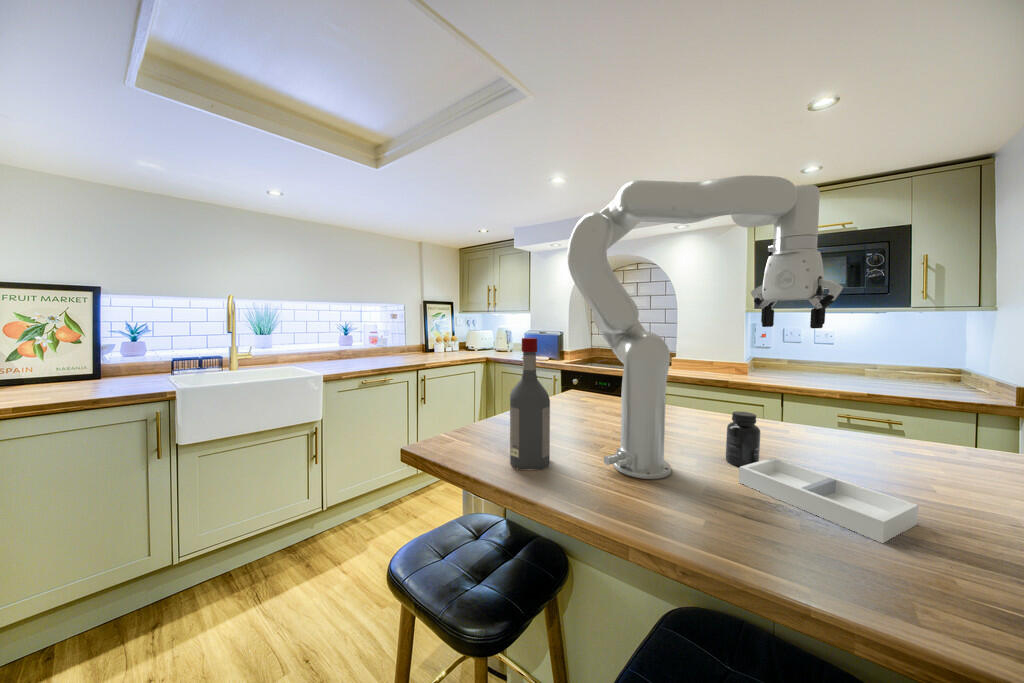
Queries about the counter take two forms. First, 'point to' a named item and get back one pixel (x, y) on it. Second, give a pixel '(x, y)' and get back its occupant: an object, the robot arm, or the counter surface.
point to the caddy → (831, 498)
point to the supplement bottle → (742, 439)
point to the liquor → (529, 415)
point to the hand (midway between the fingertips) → (790, 327)
